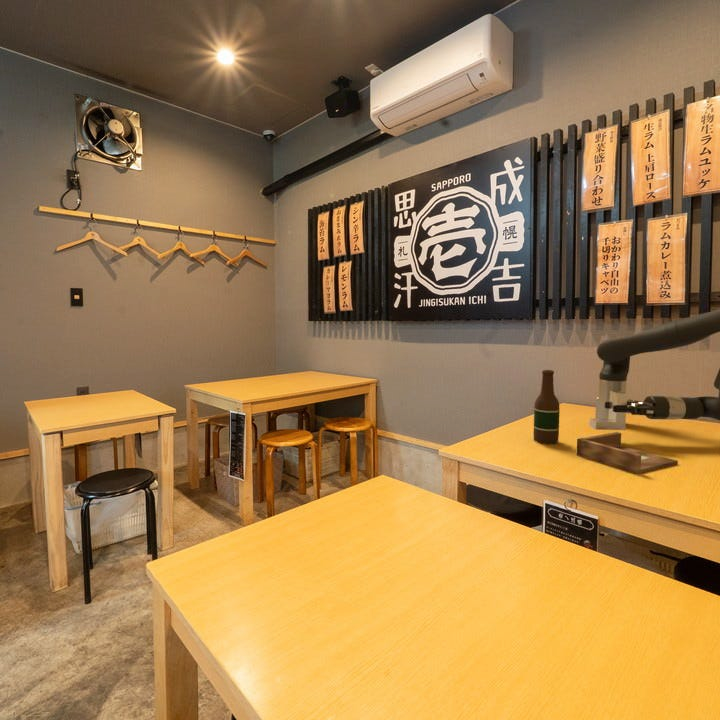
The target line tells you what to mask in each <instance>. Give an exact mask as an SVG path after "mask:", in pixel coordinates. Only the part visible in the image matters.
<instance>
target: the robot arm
mask: <svg viewBox="0 0 720 720" xmlns="http://www.w3.org/2000/svg"><path fill="white" fill-rule="evenodd" d="M717 333H720V308H718V309H714V310H712V311H708V312H703V313H700V314H697V315H696V314H695V315H692V316H687V317H685V318H681V319H677V320H674V321H670V322H666V323H663V324H660V325H657V326H654V327H652V328H648V329H646V330H643V331H641V332H637V333H635V334H631V335H627V336H626V335H625V336H622V337H615V338H607V339H605V340H603V341H602V342H601V343H600V344H598V347H597V349H596V354H597V357H598V358H599V359H600V360H601V361H602V362H603V365H602V368H601V370H600V372H599V375H598V377H599V381H598V382H599V383H598V397H596V399H595V417H594V418H597V419H608V416H609V399H610V391H621V392H624V393H627V386H628V385H627V384H628V383H627V381H628V379H627V378H628V375H629V372H630V364H631V363H630V362H631V357H632V356H636V355H640V354H646V353H653V352H663V351H668V350H672V349H677V348H678V349H679V348H682V347H686V346H689V345H693V344H695V343H698V342H700V341H702V340H704V339H707V338H709V337H710V336H712V335H715V334H717ZM713 387H714V388H715V389H717V390H718V397H717V396H708V395H707V396H696V397H682V396H671V395H670V396H669V395H667V396H665V395H664V396H663V395H662V396H661V395H659V396H658V395H649V396H648V395H647V396H646V397H645V398H644V399H643V401H641V400H639V399H638V400H632V399H627V406H625V405H613V412H624V413H626V414H628V415H629V414H630V415H632V416H645V417H646V418H647V419H648V420H649V419H650V420H668V421H669V420H697V419H699V418H709V419H713V420H716V421H720V368H719V369H718V372H717V373H716V376H715V379H714V383H713Z"/></svg>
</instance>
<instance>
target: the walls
mask: <svg viewBox="0 0 720 720" xmlns="http://www.w3.org/2000/svg"><path fill="white" fill-rule="evenodd" d="M616 446H622V433H621V432H618V431H615V432H609V433H604V434H597V435H591V436H586V437H580V438H577V441H576V453H577V452H579V453H582V454H585V455H588V456H592V457H595V458H598V459H601V460H605V461H608V462H611V463H614V464H618V465H621V466H624V467H627V468H630V469H634V470H641V455H640V454H636V453H633V452H629V451H625V450H622V449H618V448H614V447H616Z"/></svg>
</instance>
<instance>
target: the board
mask: <svg viewBox="0 0 720 720" xmlns="http://www.w3.org/2000/svg"><path fill="white" fill-rule="evenodd" d="M614 448H618V449H622V450H625V451H629V452H633V453H636V454H640V455H641V470H634V469H630V468H627V467H624V466H621V465H618V464H614V463H611V462H608V461H605V460H601V459H598V458H595V457H592V456H588V455H585V454H582V453H579V452H577V451H576V456H578V457H582V458H585V459H588V460H590V459H591V461H594V462H597V463H600V464H602V465H603V464H604V465H607V466H610V467H612V468H616V469H619V470H622V471H626V472H628V473H632V474H635V475H639V474H643V473H648V472H651V471H655V470H659V469H660V470H661V469H665V468H667V467H671V466H676V465H678V464H679V460H678V459H672V458H669V457H665V456H662V455H657V454H653V453H650V452H648V451H647V452H646V451H643V450H639V449H635V448H632V447H628V446H624V445H621V446H616V447H614Z"/></svg>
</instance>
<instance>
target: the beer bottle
mask: <svg viewBox="0 0 720 720" xmlns="http://www.w3.org/2000/svg"><path fill="white" fill-rule="evenodd" d="M541 375H542V378H541V379H542V380H541V388H540V393H539V395H538V396H537V398H536V399H535V402H534V408H533V409H534V410H533V441H535V442H536V441H537V442H536V443H538V442H539V444H543V443H545V444H546V445H555V444H558V442H559V437H560V436H559V435H560V434H559V433H560V412H561V411H560V402H559V400H558V398H557V396H556V395H555V390H554V389H555V387H554V375H555V372H554V370H552V369H543V370H542V372H541ZM545 444H544V445H545Z"/></svg>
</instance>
